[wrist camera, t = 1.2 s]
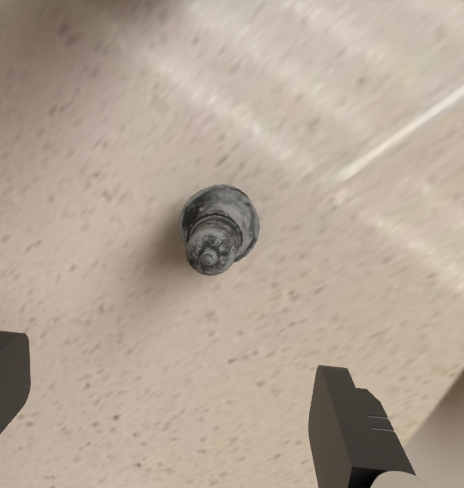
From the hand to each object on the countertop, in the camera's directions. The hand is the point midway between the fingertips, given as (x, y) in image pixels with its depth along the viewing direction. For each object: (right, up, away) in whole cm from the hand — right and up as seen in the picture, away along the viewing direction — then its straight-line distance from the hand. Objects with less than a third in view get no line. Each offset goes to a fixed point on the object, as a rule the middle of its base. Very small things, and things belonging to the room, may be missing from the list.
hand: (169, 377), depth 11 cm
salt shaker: (+1, +6, +22) cm, 23 cm away
